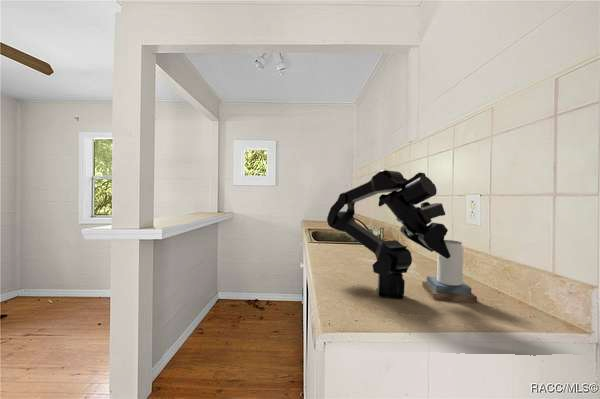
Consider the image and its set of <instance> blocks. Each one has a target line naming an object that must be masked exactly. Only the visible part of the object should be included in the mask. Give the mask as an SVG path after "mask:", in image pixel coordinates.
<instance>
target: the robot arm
mask: <svg viewBox="0 0 600 399" xmlns="http://www.w3.org/2000/svg"><path fill="white" fill-rule="evenodd" d="M437 190H438V189H437V187H436V185H435V183H434V182H433V181H432V180H431V179H430V178H429V177H427V175H426V174H425V172H420V171H419V172H417V173H416V174H414V175H413V176H412V177H411V178H409V179H407V178H405V177H404V174H402V173H401V172H400V171H395V170H394V171H393V170H387V169H386V170H385V169H382V170H380V171H379V172H377V173H376V174H374V175H373V176H372V177H371V178H370V180H369V181H367V182H365V183H362V184H360V185H359V186H356V187H355V188H352V189H350V190H347V191H346V192H342V193H340V194H339V196H338V198H337V200H336V201H335V203H334V204H333V205H332V206H331V207H330V210H329V212H328V215H327V217H326V221H327V225H328V226H329V227H330V228H331V229H334V230H337V231H339V232H344V233H346V234H347V235H348V236H350V237H352V239H354V240H355V241H357V242H358V243H359V244H361V245H362V246H364V247H365V248H367V250H369V251H370V252H372V253H373V254H374V256H375V258H376V261H375V262H374V263H373V264H372V269H373V273H374V274H377V288H376V292H377V295H378V297H379V298H388V299H389V298H390V299H398V300H404V297H405V296H404V295H405V279H404V278H403V274H407V273H408V272H407V271H408V270H409V267H411V265H412V263H413V257H412V253H411V251H410V250H409V249H408V245H403V244H402V243H400V242H399V241H398V240H397V239H393V240H384V239H382V238H380V237H379V236H377V235H376V234H374V233H373V232H371V231H370V230H368V229H366V228H365V226H364V227H363V226H362V225H360V224H359V223H357V222H356V220H355V217H354V215H355V213H356V212H355V204H356V203H358V202H361V201H363V200H365V199H367V198H371V197H373V196H376V195H378V194H381V195H380V196H379V197H378V199H379V200H378V204H377V205H378V207H382V206H384V205H386V206H387V208H388V209H389V210H390V211H391V213H392V214H393V215H394V216H395V218H396V221H397V222H399V223H401V224H402V226H400V233H401V234H402V235H403V236H404V237H406V238H407V239H408V240H410V241H412V242H413V243H415V244H417V245H419V246H421V247H423V248H424V249H425V250H427V251H429V252H431V253H433V252H435V253H437V255H438V254H440V255H442V256H443V257H445V258H447V259H448V258H450V253H449V251H448V249H447V246H446V244H445V241H444V240H445V237H446V235H447V233H448V230H449V229H448V228H447V227H446V226H445V224H443V223H439V222H433V221H432V220H433V219H435V218H438V217H443V216H445V215H446V212H445V209H444V206H443V204H442V203H441V202H440V203H438V202H436V203H430V202H429V201H426V200H428V199H430V198H432V197H434V196H436V195H437V193H438V192H437ZM385 193H387V194H385ZM418 204H420V206H416V205H418ZM346 205H347V209H346V211H345V210H343V211H341V210H342V209H343V208H344V207H345V206H346Z"/></svg>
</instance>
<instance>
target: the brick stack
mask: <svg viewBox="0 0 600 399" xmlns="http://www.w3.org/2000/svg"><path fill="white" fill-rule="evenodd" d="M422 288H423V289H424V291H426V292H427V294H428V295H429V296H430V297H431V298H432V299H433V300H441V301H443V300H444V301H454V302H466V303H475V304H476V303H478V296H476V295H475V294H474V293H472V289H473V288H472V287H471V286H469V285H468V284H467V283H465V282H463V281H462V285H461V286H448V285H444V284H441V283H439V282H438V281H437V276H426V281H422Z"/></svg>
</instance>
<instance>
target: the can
mask: <svg viewBox="0 0 600 399" xmlns="http://www.w3.org/2000/svg"><path fill="white" fill-rule="evenodd" d="M444 241H445V244H446V246H447V249H448V251H449V253H450V258H448V259H447V258H445V257H443V256H442V255H440V254H438V253H437V257H436V258H437V261H436V262H437V263H436V265H437V266H436V277H437V281H438V282H439V283H441V284H444V285H448V286H461V285H462V282H463V281H464V280H463V279H464V278H463V275H464V273H463V272H464V246H463V242H462V241H459V240H450V239H444Z"/></svg>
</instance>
